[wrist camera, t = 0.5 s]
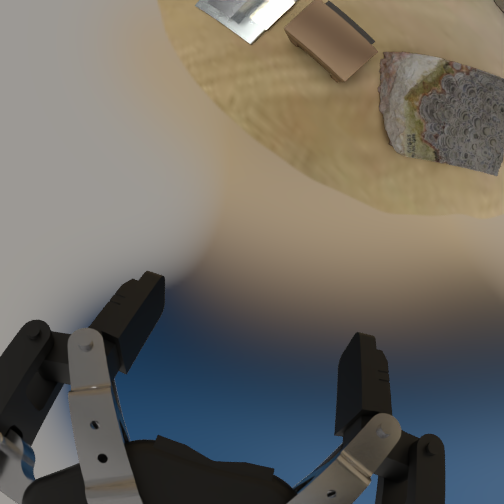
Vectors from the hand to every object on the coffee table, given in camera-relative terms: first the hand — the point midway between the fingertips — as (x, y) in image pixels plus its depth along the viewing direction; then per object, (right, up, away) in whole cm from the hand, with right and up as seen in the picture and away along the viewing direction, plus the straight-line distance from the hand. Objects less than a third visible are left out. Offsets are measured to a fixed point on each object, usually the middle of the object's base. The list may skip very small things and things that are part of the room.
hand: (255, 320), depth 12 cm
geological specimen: (+20, +18, +14) cm, 31 cm away
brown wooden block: (+8, +23, +13) cm, 28 cm away
